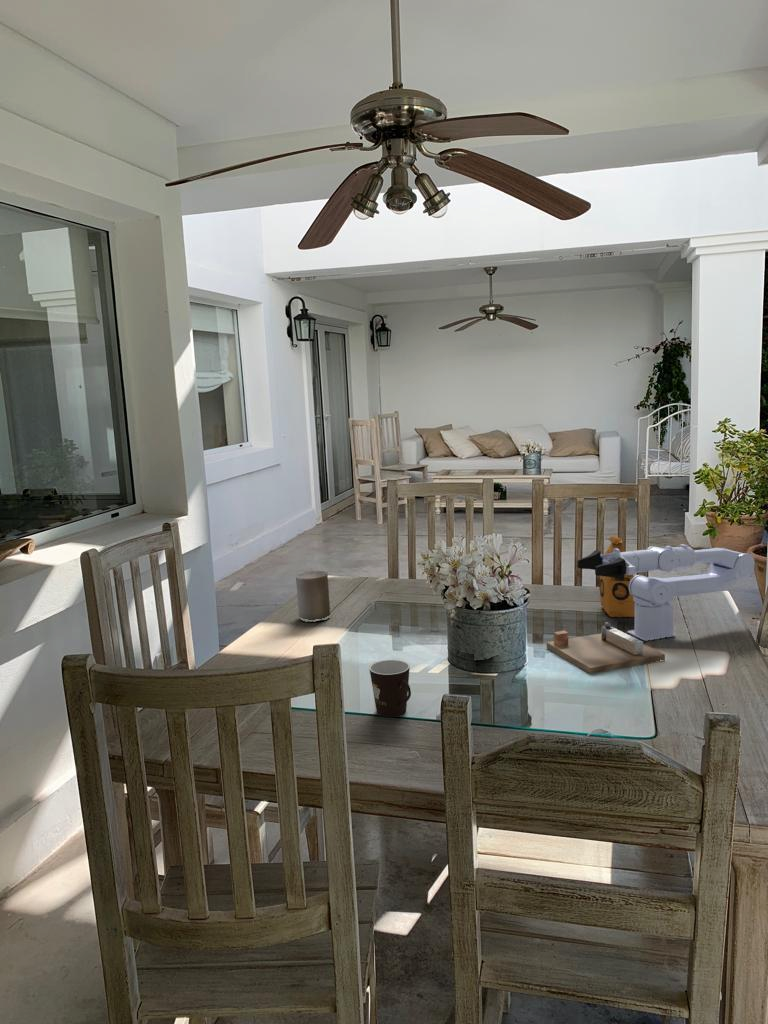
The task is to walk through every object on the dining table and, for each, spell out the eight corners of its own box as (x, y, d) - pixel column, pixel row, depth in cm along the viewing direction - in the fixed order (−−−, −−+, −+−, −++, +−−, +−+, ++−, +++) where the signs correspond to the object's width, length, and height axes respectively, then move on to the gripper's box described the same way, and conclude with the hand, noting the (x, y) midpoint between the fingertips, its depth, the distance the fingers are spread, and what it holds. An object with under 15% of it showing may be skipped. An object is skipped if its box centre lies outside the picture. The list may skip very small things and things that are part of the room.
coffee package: (602, 618, 226) (603, 543, 222) (597, 606, 238) (597, 534, 234) (638, 618, 224) (639, 543, 221) (631, 606, 236) (632, 534, 233)
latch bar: (598, 637, 204) (598, 622, 204) (609, 635, 205) (609, 620, 205) (633, 655, 191) (633, 638, 190) (644, 653, 192) (644, 636, 191)
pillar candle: (337, 615, 240) (334, 567, 238) (317, 624, 232) (314, 575, 229) (311, 612, 245) (308, 565, 243) (291, 620, 237) (288, 572, 235)
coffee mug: (370, 704, 173) (368, 661, 172) (409, 701, 174) (407, 658, 172) (374, 727, 162) (371, 681, 160) (415, 724, 163) (413, 678, 161)
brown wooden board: (616, 636, 210) (616, 620, 209) (664, 660, 191) (665, 642, 191) (546, 647, 204) (546, 631, 203) (590, 673, 185) (590, 655, 184)
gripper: (614, 541, 210) (571, 546, 206) (650, 553, 197) (605, 558, 192) (613, 567, 212) (570, 572, 207) (649, 580, 198) (603, 586, 194)
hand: (586, 567), depth 200 cm, fingers open, 7 cm apart
